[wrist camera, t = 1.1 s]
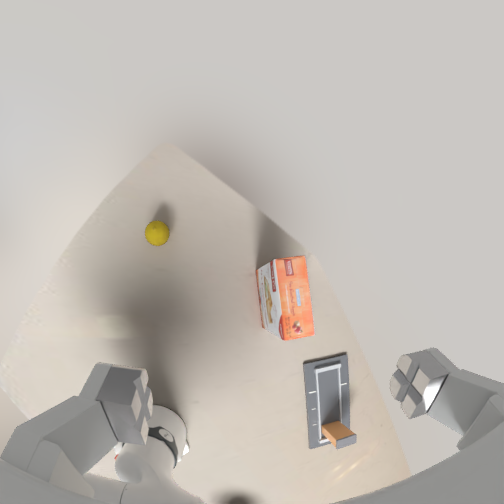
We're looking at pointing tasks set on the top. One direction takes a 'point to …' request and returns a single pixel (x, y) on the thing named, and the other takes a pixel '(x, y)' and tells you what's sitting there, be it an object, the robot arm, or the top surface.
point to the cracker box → (286, 298)
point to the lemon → (157, 233)
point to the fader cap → (338, 434)
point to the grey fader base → (326, 396)
